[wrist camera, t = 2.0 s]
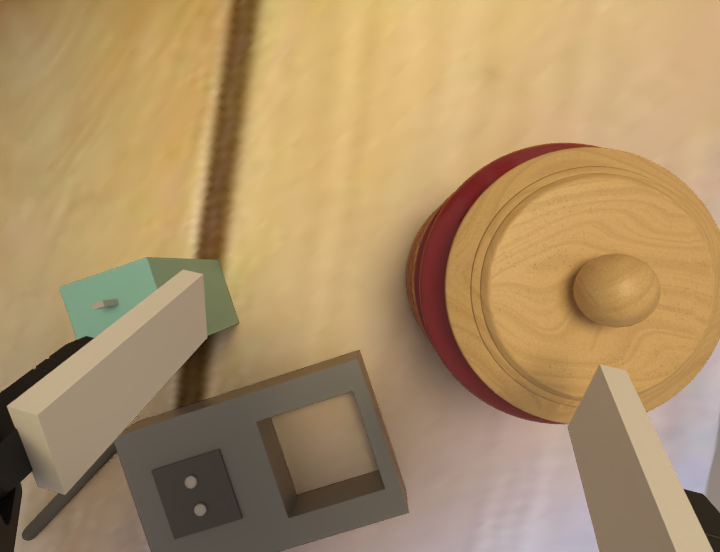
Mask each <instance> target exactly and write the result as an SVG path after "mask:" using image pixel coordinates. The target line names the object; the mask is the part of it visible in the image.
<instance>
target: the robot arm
mask: <svg viewBox="0 0 720 552" xmlns="http://www.w3.org/2000/svg"><path fill="white" fill-rule="evenodd" d="M206 339H207V324H206V309H205V294H204V279H203V274H200V273H196V272H192V271H187V270H182V271H180V272H179V273H178V274H177V275H175V276H174V277H173V278H171V279H170V280H169V281H167V282H166V283H165V284H164V285H162V286H161V287H160V288H158V289H157V290H156V291H155V292H153V293H152V294H151V295H149V296H148V297H147V298H146V299H144V300H143V301H142V302H140V303H139V304H138V305H137V306H135V307H134V308H133V309H131V310H130V311H129V312H128V313H126V314H125V315H124V316H122V317H121V318H120V319H118V320H117V321H116V322H115V323H113V324H112V325H111V326H109V327H108V328H107V329H106V330H104V331H103V332H102V333H100V334H99V335H98V336H97V337H95V338H92V337H89V336H85V337H82V338H80V339H78V340H75V341H73V342H71V343H68V344H66V345H65V346H63V347H62V348H61V349H59V350H58V351H56V352H55V353H54V354H52V355H51V356H50V357H49V359H46V360H44V361H43V362H42V363H40V364H39V365H37V366H36V369H32V370H31V371H29V372H28V373H27V374H25V375H24V376H22V377H21V378H20V379H18V380H17V381H16V382H14V383H13V384H12V385H10V386H9V387H8V388H6V389H5V390H3V391H2V392H1V393H0V552H14V546H15V539H16V532H17V525H18V518H19V511H20V504H21V498H22V487H21V483H20V482H21V481H22V480H23V479H24V478H25V477H26V476H27V475H28V474H29V473H30V472H31V471H32V472H33V475H34V478H35V480H36V483H37V485H38V487H41V488H45V489H48V490H51V491H54V492H57V493H60V494H63V495H66V494H67V492H68V491H69V490H70V489H71V488H72V487H73V486H74V485H75V484H76V482H77V481H78V480H79V479H80V478H81V477H82V476H83V475H84V474H85V473H86V471H87V470H88V469H89V468H90V467H91V466H92V465H93V464H94V463H95V461H96V460H97V459H98V458H99V457H100V456H101V455H102V454H103V453H104V452H105V450H106V449H107V448H108V447H109V446H110V445H111V444H112V443H113V442H114V440H115V439H116V438H117V437H118V436H119V435H120V434H121V433H122V432H123V430H124V429H125V428H126V427H127V426H128V425H129V424H130V423H131V422H132V421H133V419H134V418H135V417H136V416H137V415H138V414H139V413H140V412H141V411H142V409H143V408H144V407H145V406H146V405H147V404H148V403H149V402H150V401H151V399H152V398H153V397H154V396H155V395H156V394H157V393H158V392H159V391H160V390H161V388H162V387H163V386H164V385H165V384H166V383H167V382H168V381H169V380H170V378H171V377H172V376H173V375H174V374H175V373H176V372H177V371H178V370H179V369H180V367H181V366H182V365H183V364H184V363H185V362H186V361H187V360H188V359H189V357H190V356H191V355H192V354H193V353H194V352H195V351H196V350H197V349H198V347H199V346H200V345H201V344H202V343H203V342H204V341H205V340H206ZM568 430H569V434H570V438H571V442H572V446H573V450H574V454H575V458H576V462H577V466H578V470H579V473H580V477H581V481H582V485H583V489H584V493H585V497H586V501H587V505H588V509H589V512H590V516H591V520H592V524H593V528H594V532H595V536H596V540H597V544H598V548H599V551H600V552H720V513H719V512H718V510H717V509H716V508H715V507H714V506H713V505H712V504H711V503H710V501H709V500H708V499H707V498H706V497H705V496H704V495H703V494H700V493H697V492H693V491H689V490H685V489H683V487H682V485H681V483H680V481H679V479H678V477H677V475H676V473H675V471H674V469H673V467H672V464H671V462H670V460H669V458H668V456H667V454H666V452H665V450H664V448H663V446H662V444H661V442H660V440H659V437H658V435H657V433H656V431H655V429H654V427H653V425H652V423H651V421H650V419H649V417H648V415H647V413H646V411H645V408H644V406H643V404H642V402H641V400H640V398H639V396H638V394H637V392H636V390H635V388H634V386H633V384H632V381H631V379H630V377H629V375H628V373H627V371H626V370H623V369H618V368H614V367H610V366H605V365H601V364H599V366H598V368H597V370H596V372H595V374H594V376H593V378H592V380H591V382H590V384H589V386H588V388H587V390H586V392H585V394H584V396H583V398H582V400H581V402H580V404H579V406H578V408H577V410H576V412H575V414H574V416H573V418H572V420H571V421H570V423H569V425H568Z"/></svg>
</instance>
